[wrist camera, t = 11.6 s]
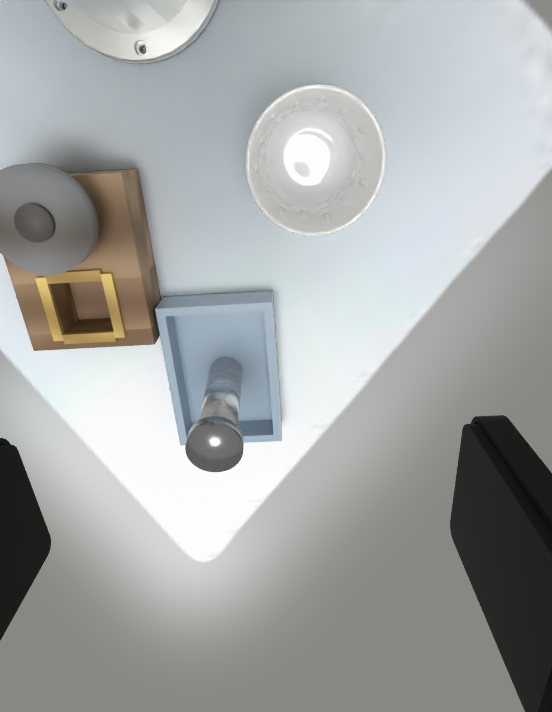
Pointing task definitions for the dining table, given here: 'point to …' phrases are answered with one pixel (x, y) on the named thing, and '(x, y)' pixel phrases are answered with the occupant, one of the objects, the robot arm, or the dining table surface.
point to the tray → (217, 340)
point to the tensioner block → (79, 256)
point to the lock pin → (218, 420)
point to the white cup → (315, 160)
